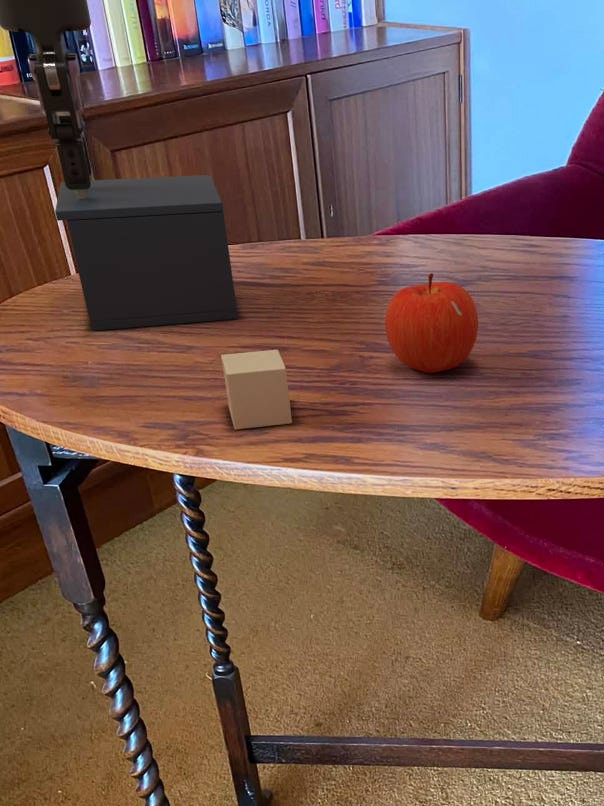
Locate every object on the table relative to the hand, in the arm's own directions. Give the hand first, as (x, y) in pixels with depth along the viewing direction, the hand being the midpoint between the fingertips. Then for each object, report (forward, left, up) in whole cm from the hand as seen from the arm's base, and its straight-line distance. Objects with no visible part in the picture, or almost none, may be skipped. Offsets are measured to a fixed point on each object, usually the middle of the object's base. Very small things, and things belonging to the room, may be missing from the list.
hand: (79, 181), depth 91 cm
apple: (+27, -25, -12) cm, 39 cm away
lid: (+5, 0, -2) cm, 5 cm away
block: (+11, -32, -12) cm, 36 cm away
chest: (+5, 0, -12) cm, 13 cm away
